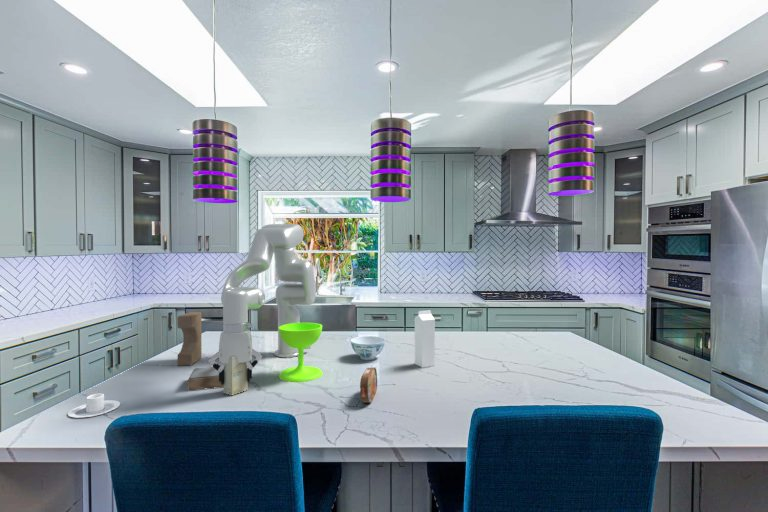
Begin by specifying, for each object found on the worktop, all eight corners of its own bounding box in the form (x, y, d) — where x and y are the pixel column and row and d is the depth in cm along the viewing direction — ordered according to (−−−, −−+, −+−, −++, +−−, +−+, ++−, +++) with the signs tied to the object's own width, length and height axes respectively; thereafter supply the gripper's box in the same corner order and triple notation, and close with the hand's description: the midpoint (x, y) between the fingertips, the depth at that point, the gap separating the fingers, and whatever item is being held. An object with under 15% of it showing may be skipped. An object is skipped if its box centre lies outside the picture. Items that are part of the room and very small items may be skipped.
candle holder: (103, 419, 104) (103, 403, 104) (56, 421, 103) (56, 405, 103) (128, 402, 116) (128, 388, 116) (87, 403, 115) (87, 389, 115)
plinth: (229, 375, 140) (229, 364, 140) (227, 386, 128) (227, 374, 128) (193, 379, 136) (193, 368, 136) (188, 390, 124) (188, 378, 124)
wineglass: (331, 374, 141) (331, 326, 141) (294, 385, 129) (294, 333, 129) (306, 365, 152) (306, 321, 152) (270, 375, 140) (270, 326, 140)
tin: (369, 407, 111) (369, 379, 111) (358, 406, 112) (358, 378, 112) (378, 389, 126) (378, 364, 126) (368, 388, 127) (368, 363, 127)
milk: (414, 363, 155) (414, 310, 155) (427, 362, 157) (426, 309, 157) (422, 367, 149) (422, 312, 149) (435, 365, 152) (434, 311, 152)
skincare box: (231, 396, 120) (231, 358, 119) (223, 393, 122) (222, 356, 122) (248, 390, 125) (248, 353, 125) (239, 387, 127) (239, 351, 127)
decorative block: (191, 365, 152) (191, 316, 152) (176, 366, 151) (176, 316, 151) (202, 358, 163) (202, 311, 163) (188, 358, 162) (188, 312, 162)
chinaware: (391, 356, 166) (391, 338, 166) (372, 364, 153) (372, 345, 153) (363, 351, 174) (363, 334, 174) (343, 359, 161) (343, 341, 161)
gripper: (263, 324, 130) (263, 375, 130) (207, 327, 124) (208, 381, 124) (263, 328, 122) (263, 383, 123) (204, 331, 117) (205, 389, 117)
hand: (235, 381), depth 123 cm, fingers closed on skincare box, 7 cm apart
